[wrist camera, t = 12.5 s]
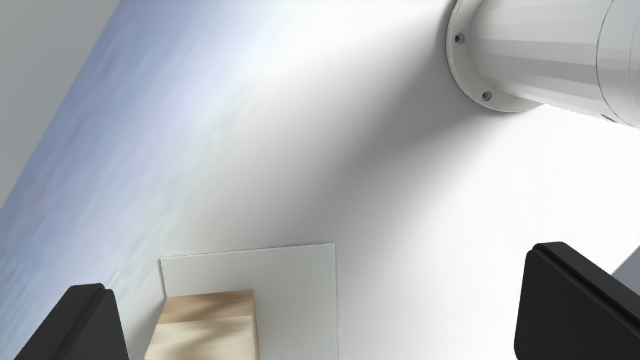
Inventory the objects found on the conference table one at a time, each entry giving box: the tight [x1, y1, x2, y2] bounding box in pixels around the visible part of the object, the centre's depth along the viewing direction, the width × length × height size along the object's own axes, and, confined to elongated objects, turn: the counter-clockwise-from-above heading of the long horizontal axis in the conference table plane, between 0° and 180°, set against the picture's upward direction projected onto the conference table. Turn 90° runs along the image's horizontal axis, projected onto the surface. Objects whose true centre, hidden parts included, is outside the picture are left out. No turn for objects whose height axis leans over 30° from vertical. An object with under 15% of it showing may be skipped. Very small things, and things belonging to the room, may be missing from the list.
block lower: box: [157, 289, 260, 360], centre depth 40 cm, size 8×8×4 cm
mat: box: [160, 243, 338, 360], centre depth 43 cm, size 16×16×1 cm
